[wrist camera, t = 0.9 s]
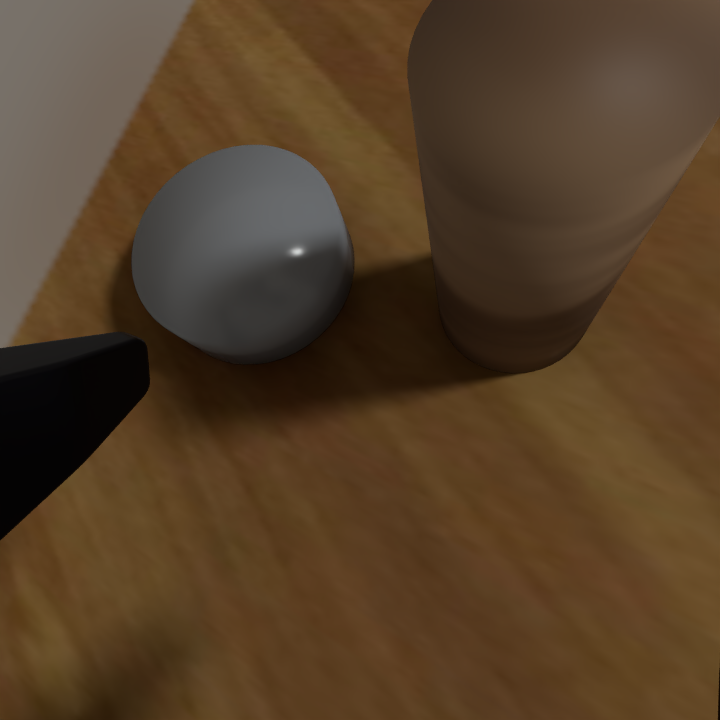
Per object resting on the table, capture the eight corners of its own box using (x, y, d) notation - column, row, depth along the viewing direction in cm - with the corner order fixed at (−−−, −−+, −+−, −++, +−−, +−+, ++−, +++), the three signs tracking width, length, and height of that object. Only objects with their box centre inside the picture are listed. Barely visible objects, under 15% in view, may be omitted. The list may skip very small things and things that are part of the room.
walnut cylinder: (555, 397, 20) (674, 231, 9) (414, 337, 22) (355, 132, 10) (614, 266, 21) (791, -42, 10) (475, 218, 23) (483, -91, 11)
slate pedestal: (293, 397, 22) (268, 380, 20) (134, 318, 25) (92, 292, 22) (389, 221, 24) (378, 181, 21) (230, 163, 27) (201, 121, 24)
